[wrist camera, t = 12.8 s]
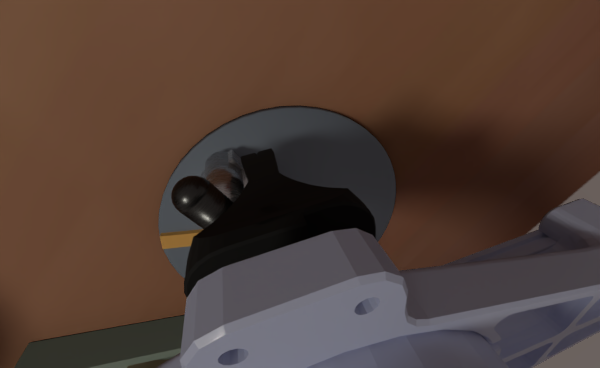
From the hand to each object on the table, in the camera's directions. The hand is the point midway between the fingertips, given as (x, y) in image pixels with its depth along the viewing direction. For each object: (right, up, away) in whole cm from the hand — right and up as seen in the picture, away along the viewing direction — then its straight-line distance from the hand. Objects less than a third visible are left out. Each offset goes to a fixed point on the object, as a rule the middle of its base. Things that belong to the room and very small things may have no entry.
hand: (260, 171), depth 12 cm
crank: (-1, -2, +3) cm, 4 cm away
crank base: (+1, -3, +6) cm, 7 cm away
